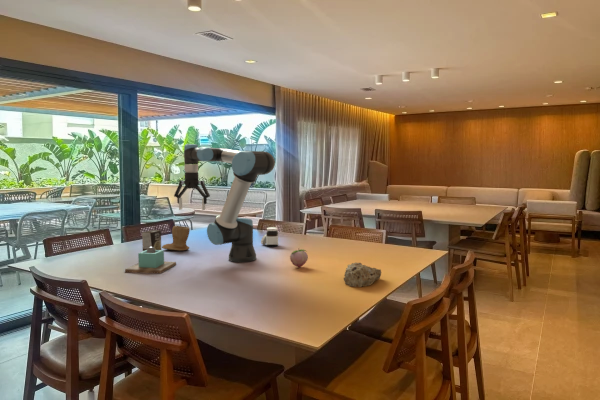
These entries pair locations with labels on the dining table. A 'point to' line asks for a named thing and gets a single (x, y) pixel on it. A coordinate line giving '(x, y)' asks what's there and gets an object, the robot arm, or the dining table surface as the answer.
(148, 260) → the teal hollow square block
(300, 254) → the decorative fruit
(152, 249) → the post
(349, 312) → the dining table surface
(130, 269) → the base plate
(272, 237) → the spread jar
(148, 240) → the coffee box
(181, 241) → the brown piece
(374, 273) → the rock
